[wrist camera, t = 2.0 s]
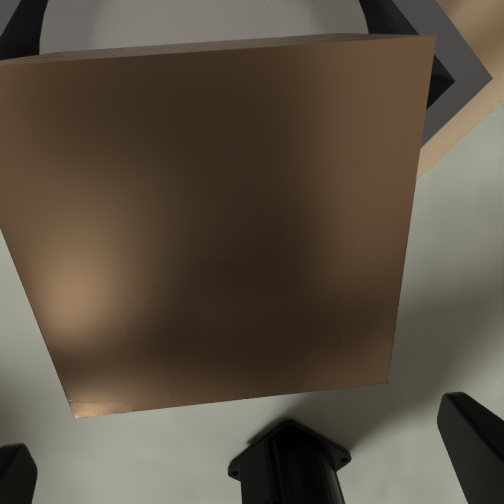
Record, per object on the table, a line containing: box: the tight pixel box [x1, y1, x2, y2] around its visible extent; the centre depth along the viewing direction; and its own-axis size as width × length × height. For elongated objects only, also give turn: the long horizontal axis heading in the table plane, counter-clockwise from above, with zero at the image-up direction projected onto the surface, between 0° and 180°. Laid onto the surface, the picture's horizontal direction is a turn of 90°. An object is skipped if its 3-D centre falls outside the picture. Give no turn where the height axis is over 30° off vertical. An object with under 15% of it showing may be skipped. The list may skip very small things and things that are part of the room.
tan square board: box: [416, 0, 504, 181], centre depth 17 cm, size 20×20×1 cm
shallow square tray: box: [0, 0, 493, 148], centre depth 14 cm, size 14×12×6 cm
